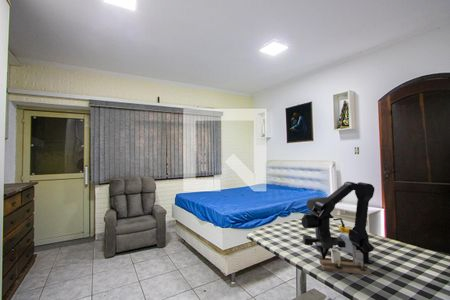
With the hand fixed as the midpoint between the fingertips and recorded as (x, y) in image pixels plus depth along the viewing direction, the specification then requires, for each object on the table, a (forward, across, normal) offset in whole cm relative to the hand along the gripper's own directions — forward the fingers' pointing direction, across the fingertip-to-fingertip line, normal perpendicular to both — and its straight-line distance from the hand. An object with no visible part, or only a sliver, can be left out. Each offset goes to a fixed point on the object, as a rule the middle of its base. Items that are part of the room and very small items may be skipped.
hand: (323, 258), depth 107 cm
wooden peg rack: (+3, +9, -1) cm, 9 cm away
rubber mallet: (+3, +2, +16) cm, 16 cm away
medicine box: (+3, +18, +18) cm, 25 cm away
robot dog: (+3, +22, +32) cm, 38 cm away
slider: (+2, +6, -1) cm, 6 cm away
